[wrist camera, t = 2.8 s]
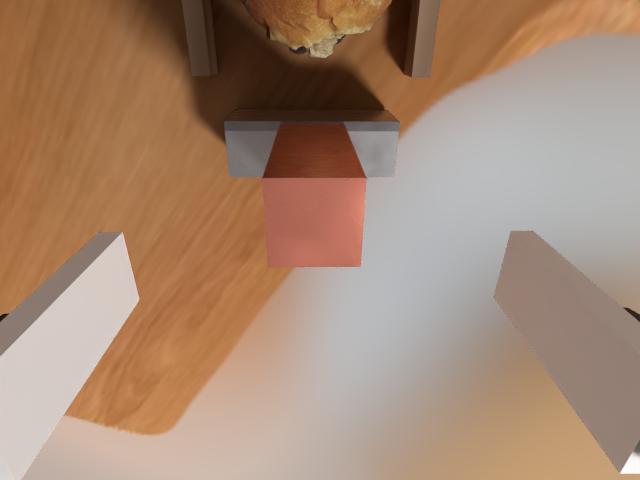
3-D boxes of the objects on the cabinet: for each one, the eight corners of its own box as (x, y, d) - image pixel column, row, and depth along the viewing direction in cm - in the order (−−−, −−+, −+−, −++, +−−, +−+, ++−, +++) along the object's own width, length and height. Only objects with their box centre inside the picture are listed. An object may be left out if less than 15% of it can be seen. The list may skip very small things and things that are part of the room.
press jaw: (240, 164, 30) (185, 267, 17) (235, 109, 28) (169, 175, 15) (382, 164, 30) (440, 265, 17) (387, 109, 28) (457, 175, 15)
